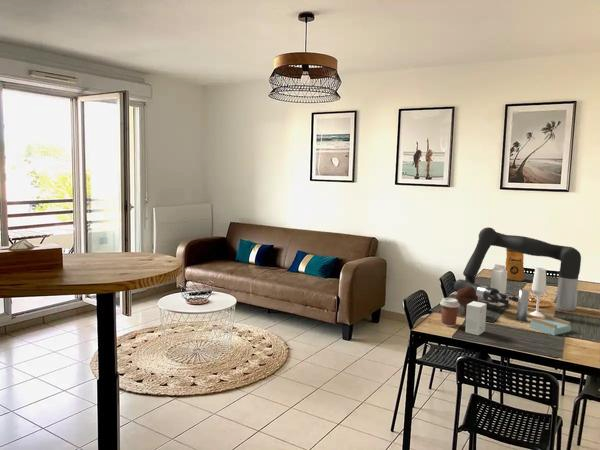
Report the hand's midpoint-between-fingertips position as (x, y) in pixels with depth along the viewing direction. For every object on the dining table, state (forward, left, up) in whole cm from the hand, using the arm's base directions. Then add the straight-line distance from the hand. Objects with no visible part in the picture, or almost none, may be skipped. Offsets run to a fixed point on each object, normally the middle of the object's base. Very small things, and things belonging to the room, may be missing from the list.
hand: (514, 301), depth 242 cm
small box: (+35, +7, -8) cm, 37 cm away
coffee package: (-75, -57, -8) cm, 95 cm away
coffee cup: (+38, -6, -8) cm, 39 cm away
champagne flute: (-16, +2, -8) cm, 18 cm away
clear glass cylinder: (0, +5, -8) cm, 10 cm away
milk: (-13, -20, -8) cm, 25 cm away
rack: (0, +20, -8) cm, 22 cm away
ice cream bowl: (+18, -14, -8) cm, 24 cm away
